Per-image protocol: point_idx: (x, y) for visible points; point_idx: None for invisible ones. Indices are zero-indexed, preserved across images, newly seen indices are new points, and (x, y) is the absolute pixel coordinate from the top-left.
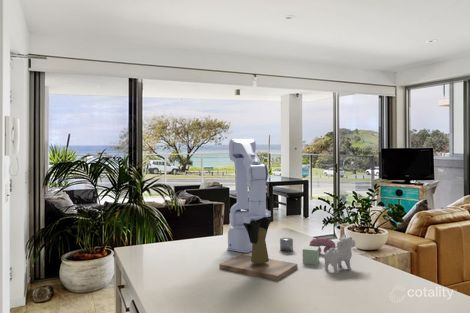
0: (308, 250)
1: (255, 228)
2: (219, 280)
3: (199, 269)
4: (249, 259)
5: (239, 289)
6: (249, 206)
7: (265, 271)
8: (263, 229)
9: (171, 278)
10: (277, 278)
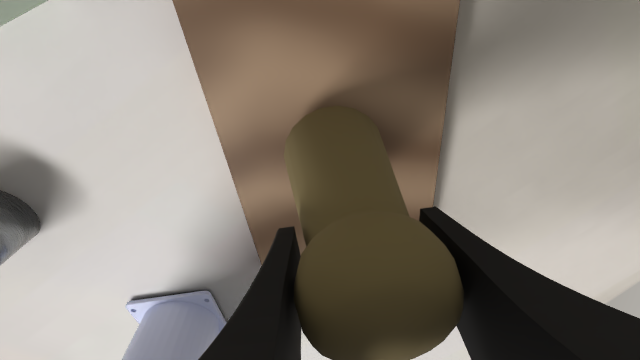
0: None
1: (616, 315)
2: (539, 165)
3: None
4: None
5: (633, 26)
6: None
7: (425, 43)
8: (392, 288)
9: (559, 271)
10: None
